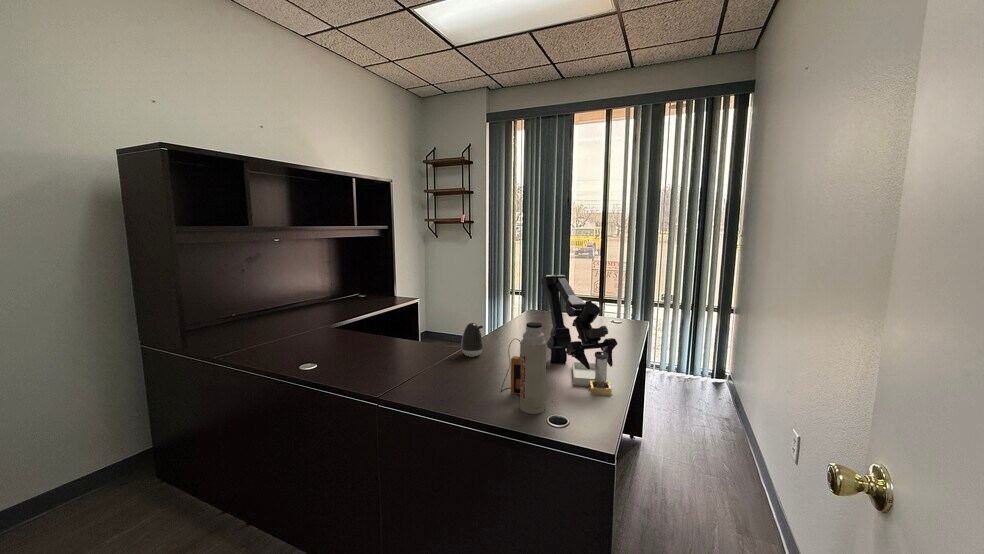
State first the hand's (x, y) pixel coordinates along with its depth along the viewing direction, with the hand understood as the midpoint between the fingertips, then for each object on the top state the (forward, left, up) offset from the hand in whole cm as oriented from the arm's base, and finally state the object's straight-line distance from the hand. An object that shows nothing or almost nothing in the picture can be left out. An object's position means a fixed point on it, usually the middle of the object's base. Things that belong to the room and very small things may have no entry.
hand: (600, 367), depth 140 cm
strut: (0, 0, -9) cm, 9 cm away
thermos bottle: (-23, -18, -9) cm, 31 cm away
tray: (-4, +13, -9) cm, 16 cm away
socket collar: (0, 0, -9) cm, 9 cm away
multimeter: (-27, -4, -9) cm, 29 cm away
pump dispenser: (-54, +32, -9) cm, 63 cm away
